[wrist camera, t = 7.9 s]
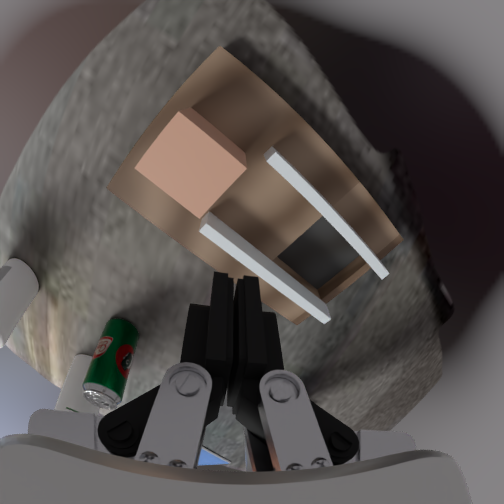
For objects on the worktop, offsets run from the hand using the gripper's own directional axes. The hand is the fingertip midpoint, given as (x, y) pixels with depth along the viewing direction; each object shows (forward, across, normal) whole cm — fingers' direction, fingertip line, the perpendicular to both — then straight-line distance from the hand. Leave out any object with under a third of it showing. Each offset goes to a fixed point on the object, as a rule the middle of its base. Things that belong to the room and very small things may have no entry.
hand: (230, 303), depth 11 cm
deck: (+17, -4, +2) cm, 18 cm away
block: (+15, +3, -2) cm, 16 cm away
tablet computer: (+18, 0, +79) cm, 81 cm away
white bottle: (+18, +29, +17) cm, 38 cm away
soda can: (+17, +12, +23) cm, 32 cm away
